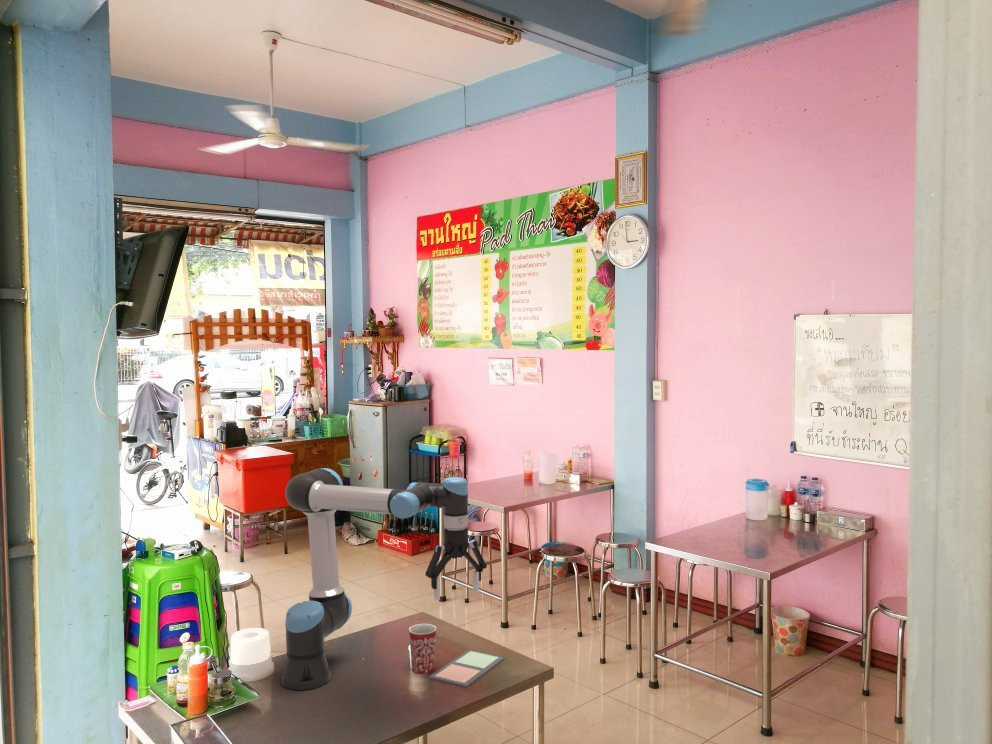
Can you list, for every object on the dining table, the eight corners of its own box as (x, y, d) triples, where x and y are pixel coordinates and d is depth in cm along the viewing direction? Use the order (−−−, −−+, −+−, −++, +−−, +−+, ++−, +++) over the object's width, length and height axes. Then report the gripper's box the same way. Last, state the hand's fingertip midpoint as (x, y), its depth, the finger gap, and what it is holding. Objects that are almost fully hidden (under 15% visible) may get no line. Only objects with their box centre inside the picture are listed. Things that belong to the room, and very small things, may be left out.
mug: (440, 672, 248) (440, 631, 247) (413, 677, 245) (412, 635, 244) (429, 657, 260) (428, 618, 259) (403, 662, 256) (402, 622, 256)
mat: (429, 678, 243) (429, 676, 243) (468, 651, 264) (468, 649, 264) (466, 687, 237) (466, 685, 237) (504, 659, 257) (504, 657, 257)
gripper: (424, 535, 230) (425, 605, 231) (496, 525, 242) (497, 591, 243) (414, 530, 236) (415, 598, 237) (485, 520, 249) (486, 585, 249)
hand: (456, 595), depth 240 cm, fingers open, 13 cm apart
